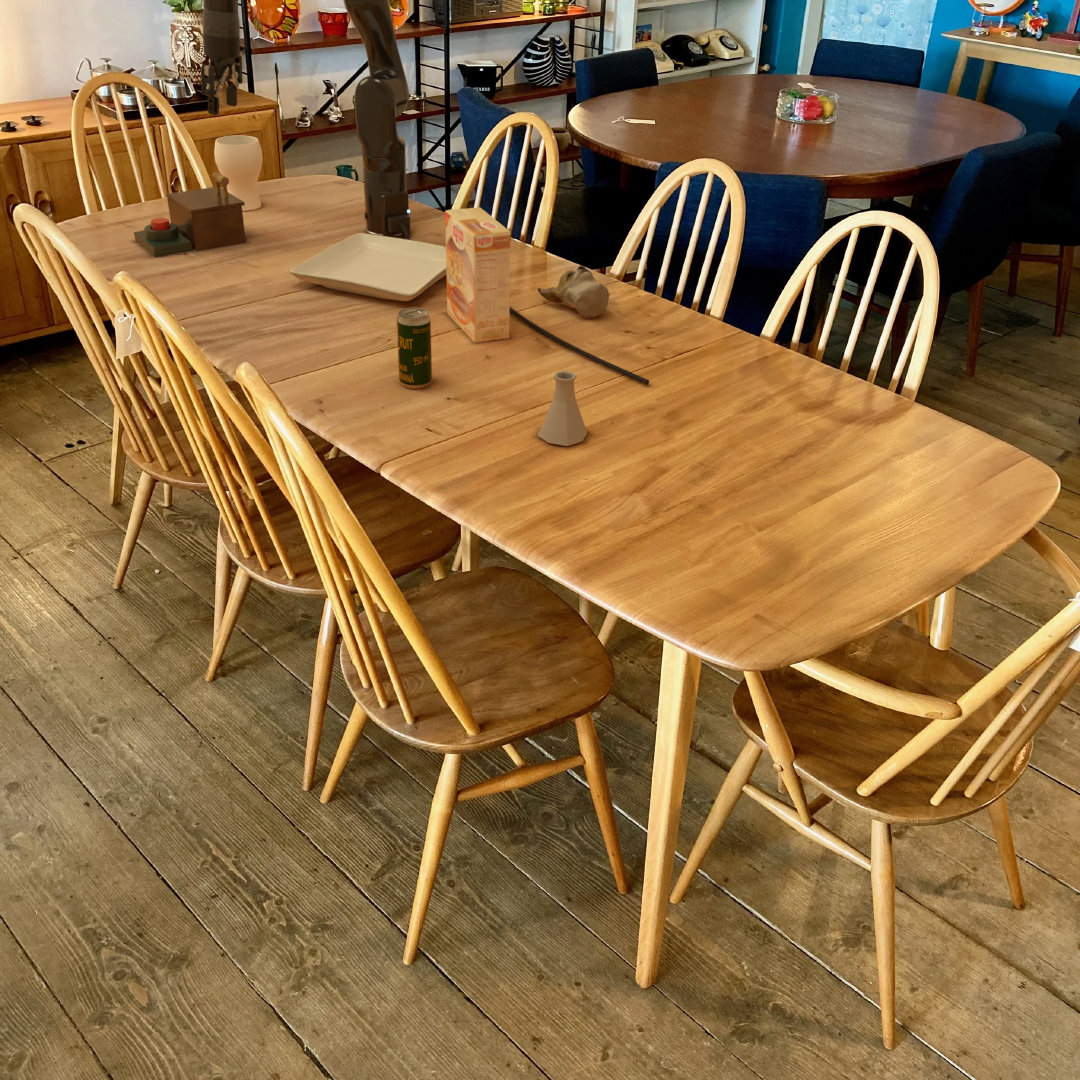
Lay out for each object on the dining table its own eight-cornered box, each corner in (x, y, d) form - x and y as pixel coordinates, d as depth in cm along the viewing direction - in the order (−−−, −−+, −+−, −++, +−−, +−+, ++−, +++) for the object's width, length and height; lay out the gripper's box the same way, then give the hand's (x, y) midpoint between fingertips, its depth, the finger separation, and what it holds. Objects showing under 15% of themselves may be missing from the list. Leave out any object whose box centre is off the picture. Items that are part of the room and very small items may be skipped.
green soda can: (416, 373, 184) (413, 304, 178) (439, 382, 182) (437, 313, 175) (392, 382, 181) (389, 313, 174) (415, 392, 178) (413, 322, 172)
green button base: (192, 250, 232) (190, 231, 230) (155, 257, 228) (152, 238, 226) (171, 235, 240) (169, 216, 238) (135, 241, 236) (132, 222, 234)
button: (172, 230, 232) (171, 221, 231) (155, 232, 230) (154, 224, 229) (166, 225, 234) (165, 216, 233) (149, 228, 233) (148, 219, 232)
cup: (256, 214, 254) (248, 147, 246) (213, 210, 256) (204, 143, 248) (274, 202, 263) (268, 136, 255) (233, 198, 265) (225, 133, 257)
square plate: (288, 288, 216) (286, 269, 213) (359, 248, 237) (358, 230, 235) (412, 311, 207) (411, 291, 205) (473, 267, 229) (473, 249, 227)
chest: (220, 225, 247) (216, 190, 242) (246, 242, 238) (241, 206, 233) (172, 233, 241) (166, 197, 237) (196, 251, 232) (191, 213, 228)
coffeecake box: (445, 313, 207) (443, 209, 196) (481, 309, 209) (481, 206, 199) (473, 343, 196) (472, 234, 185) (510, 338, 198) (512, 230, 187)
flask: (556, 420, 171) (558, 360, 166) (595, 433, 168) (599, 373, 163) (529, 437, 166) (530, 376, 161) (569, 451, 163) (572, 390, 158)
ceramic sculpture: (577, 279, 199) (534, 259, 210) (576, 326, 203) (534, 304, 214) (626, 271, 204) (581, 252, 215) (623, 317, 208) (580, 296, 219)
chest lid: (219, 189, 243) (216, 165, 240) (244, 205, 234) (242, 180, 231) (166, 197, 237) (163, 172, 234) (191, 213, 228) (187, 188, 225)
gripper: (221, 40, 228) (223, 121, 237) (252, 29, 240) (253, 106, 249) (188, 33, 229) (191, 113, 238) (220, 22, 240) (222, 99, 250)
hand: (222, 109), depth 244 cm, fingers open, 8 cm apart
